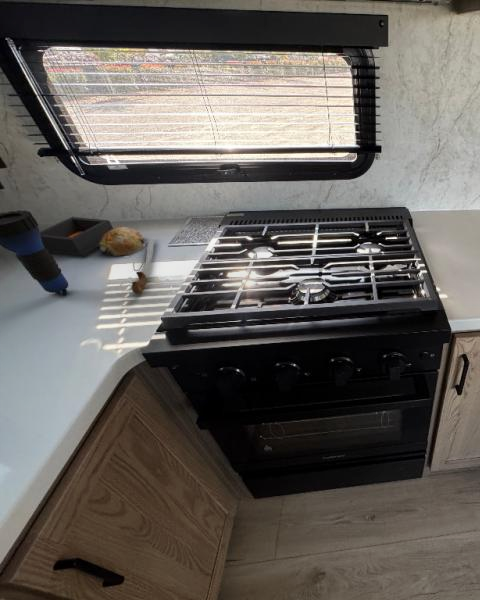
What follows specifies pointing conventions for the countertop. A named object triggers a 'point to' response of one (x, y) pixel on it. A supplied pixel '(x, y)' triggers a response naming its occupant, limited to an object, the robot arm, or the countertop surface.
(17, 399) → the countertop surface
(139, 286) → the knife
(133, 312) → the countertop surface
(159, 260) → the countertop surface
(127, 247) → the bread roll
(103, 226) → the dark grey tray
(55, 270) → the flashlight
